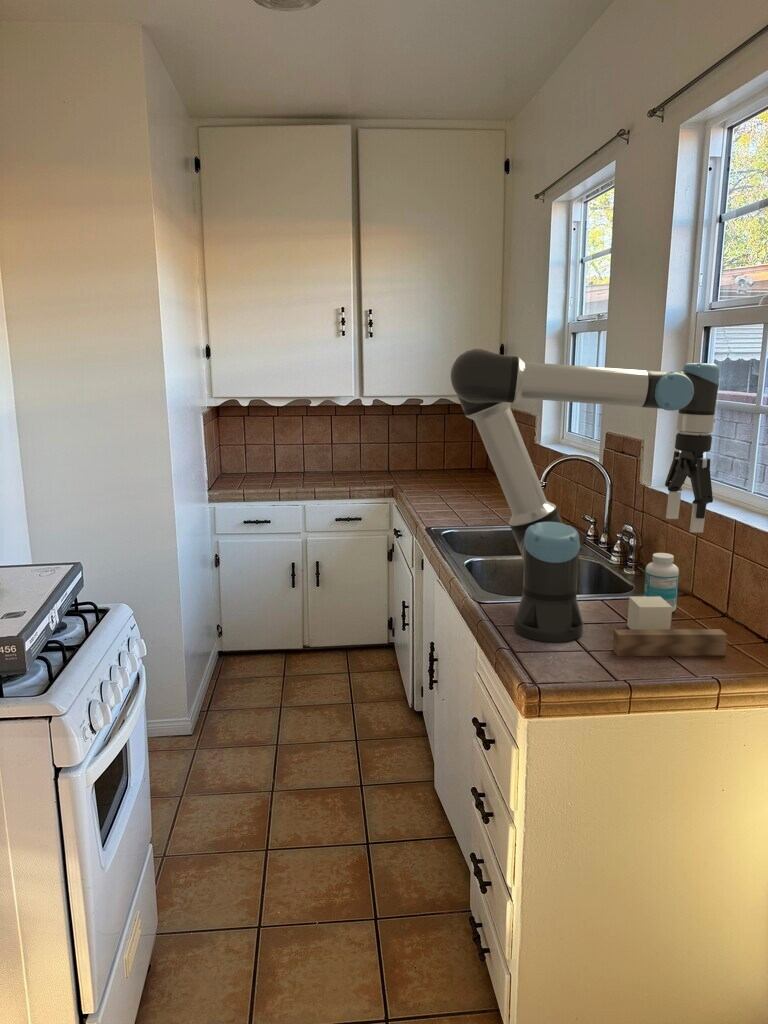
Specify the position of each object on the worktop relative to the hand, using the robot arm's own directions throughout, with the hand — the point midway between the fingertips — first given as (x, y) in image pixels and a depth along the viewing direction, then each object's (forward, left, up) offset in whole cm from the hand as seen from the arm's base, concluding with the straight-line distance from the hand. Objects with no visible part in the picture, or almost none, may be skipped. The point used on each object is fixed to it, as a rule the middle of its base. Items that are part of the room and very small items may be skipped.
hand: (683, 525), depth 169 cm
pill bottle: (-3, +3, -22) cm, 22 cm away
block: (-11, -11, -22) cm, 27 cm away
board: (-11, -23, -22) cm, 33 cm away
